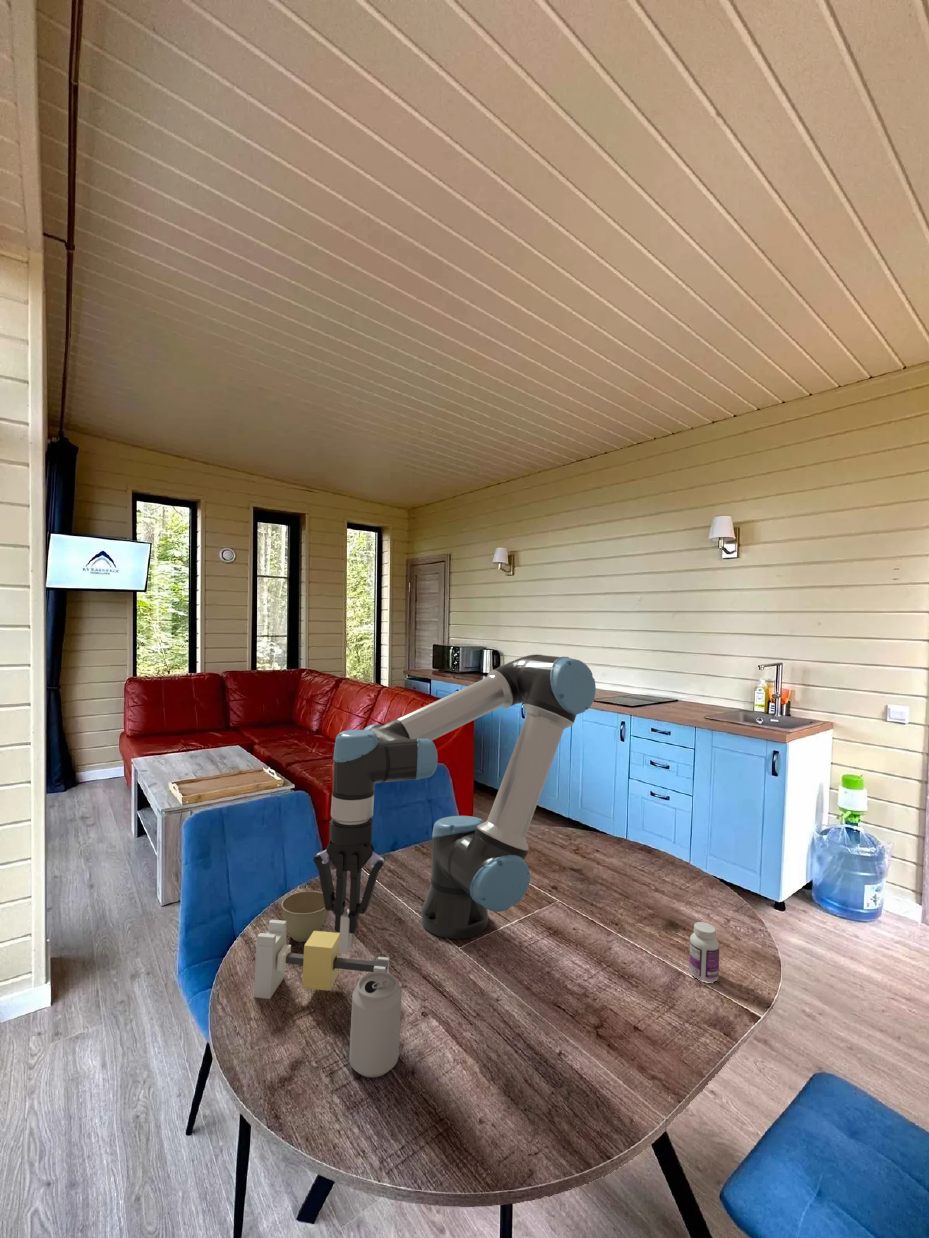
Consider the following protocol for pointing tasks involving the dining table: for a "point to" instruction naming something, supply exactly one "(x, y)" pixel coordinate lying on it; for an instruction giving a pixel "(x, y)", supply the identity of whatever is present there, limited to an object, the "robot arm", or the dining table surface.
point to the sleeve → (320, 960)
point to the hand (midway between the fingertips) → (345, 949)
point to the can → (375, 1024)
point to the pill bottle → (704, 952)
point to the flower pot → (304, 914)
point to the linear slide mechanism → (292, 960)
